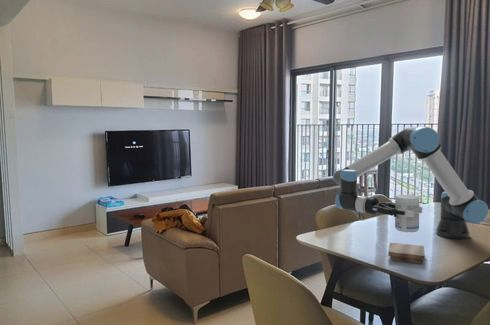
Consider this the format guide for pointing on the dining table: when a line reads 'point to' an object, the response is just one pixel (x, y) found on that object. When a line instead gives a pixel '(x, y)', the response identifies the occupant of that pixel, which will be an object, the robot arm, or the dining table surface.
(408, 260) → the walnut stand
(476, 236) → the dining table surface
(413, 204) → the supplement tub
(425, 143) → the robot arm
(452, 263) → the dining table surface
